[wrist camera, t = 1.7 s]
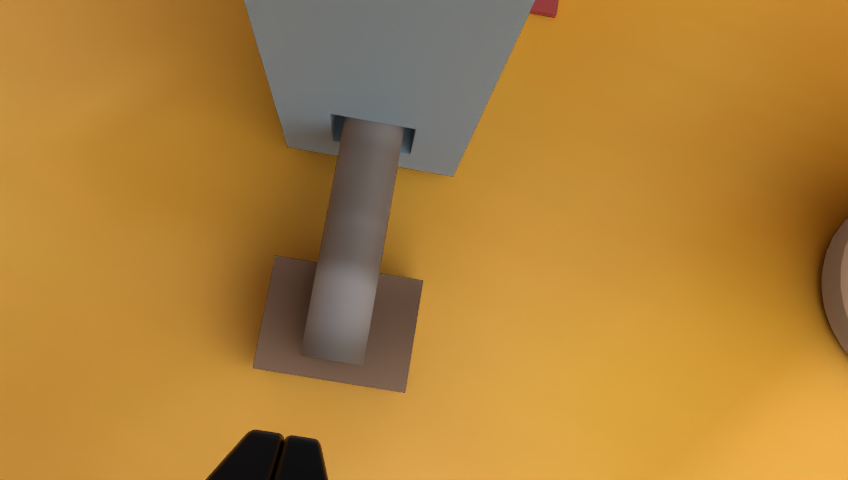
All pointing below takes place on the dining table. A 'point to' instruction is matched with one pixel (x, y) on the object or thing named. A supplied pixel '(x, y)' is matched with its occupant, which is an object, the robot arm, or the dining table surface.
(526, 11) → the sleeve
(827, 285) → the travel mug
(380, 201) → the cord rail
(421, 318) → the dining table surface
